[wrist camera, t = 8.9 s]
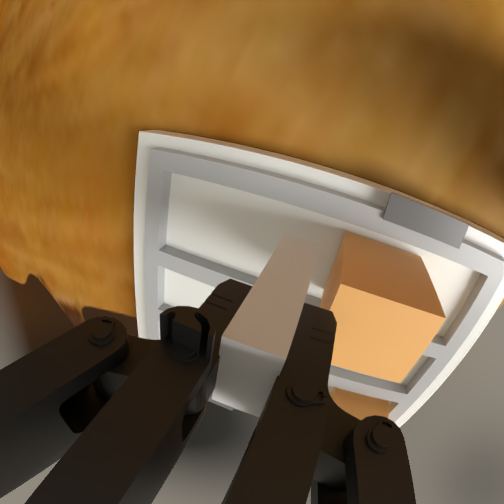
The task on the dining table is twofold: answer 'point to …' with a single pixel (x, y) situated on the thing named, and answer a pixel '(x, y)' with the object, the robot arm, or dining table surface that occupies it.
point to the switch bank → (305, 225)
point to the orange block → (380, 308)
